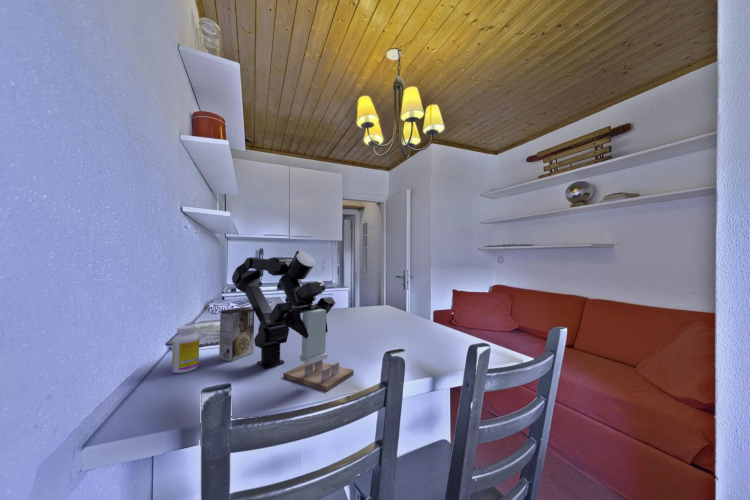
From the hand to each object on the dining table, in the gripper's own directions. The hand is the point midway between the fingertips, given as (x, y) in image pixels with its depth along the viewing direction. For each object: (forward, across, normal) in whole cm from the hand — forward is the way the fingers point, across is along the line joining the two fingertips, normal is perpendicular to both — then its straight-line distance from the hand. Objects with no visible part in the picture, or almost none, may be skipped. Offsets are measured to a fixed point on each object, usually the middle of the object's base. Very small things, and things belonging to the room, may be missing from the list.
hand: (317, 334), depth 71 cm
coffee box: (-18, -4, +37) cm, 41 cm away
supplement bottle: (-17, -19, +37) cm, 45 cm away
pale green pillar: (+4, 0, +6) cm, 7 cm away
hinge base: (+6, +4, +13) cm, 15 cm away
